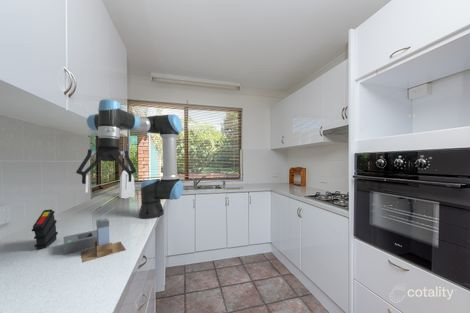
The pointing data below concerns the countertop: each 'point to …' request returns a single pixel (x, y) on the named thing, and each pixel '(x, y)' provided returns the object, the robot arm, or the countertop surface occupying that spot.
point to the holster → (101, 251)
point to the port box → (79, 241)
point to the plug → (102, 231)
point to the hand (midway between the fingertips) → (107, 191)
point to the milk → (122, 191)
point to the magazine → (45, 229)
